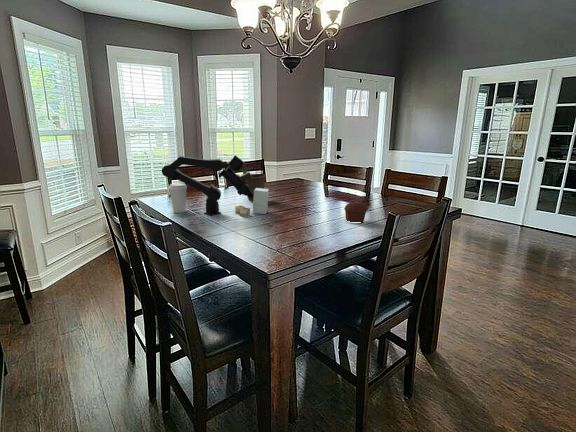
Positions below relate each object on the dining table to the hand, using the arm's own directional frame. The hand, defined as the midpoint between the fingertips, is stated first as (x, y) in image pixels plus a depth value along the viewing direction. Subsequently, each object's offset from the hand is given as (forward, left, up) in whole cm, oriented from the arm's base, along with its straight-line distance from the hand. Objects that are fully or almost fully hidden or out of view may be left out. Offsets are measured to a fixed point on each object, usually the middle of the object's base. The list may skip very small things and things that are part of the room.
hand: (253, 197), depth 184 cm
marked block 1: (-6, +5, -9) cm, 11 cm away
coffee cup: (-22, +35, -9) cm, 42 cm away
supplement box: (+2, -2, -9) cm, 9 cm away
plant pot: (+25, +20, -9) cm, 33 cm away
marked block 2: (-8, 0, -9) cm, 12 cm away
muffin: (+16, -52, -9) cm, 56 cm away
